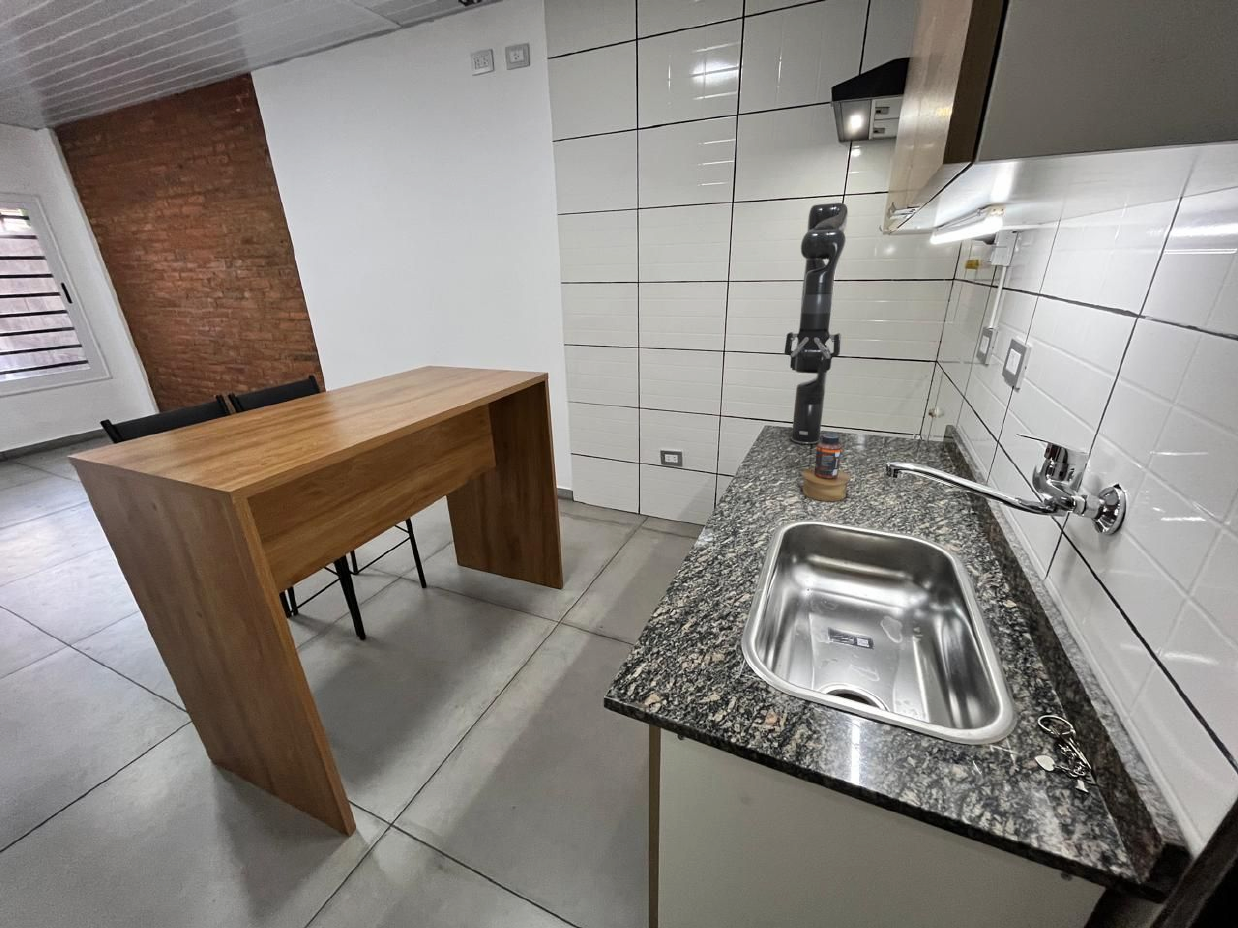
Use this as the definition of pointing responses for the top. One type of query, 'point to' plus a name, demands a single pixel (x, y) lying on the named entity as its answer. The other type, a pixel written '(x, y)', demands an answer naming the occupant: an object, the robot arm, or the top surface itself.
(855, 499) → the top surface
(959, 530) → the top surface
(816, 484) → the stand
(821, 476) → the supplement bottle
